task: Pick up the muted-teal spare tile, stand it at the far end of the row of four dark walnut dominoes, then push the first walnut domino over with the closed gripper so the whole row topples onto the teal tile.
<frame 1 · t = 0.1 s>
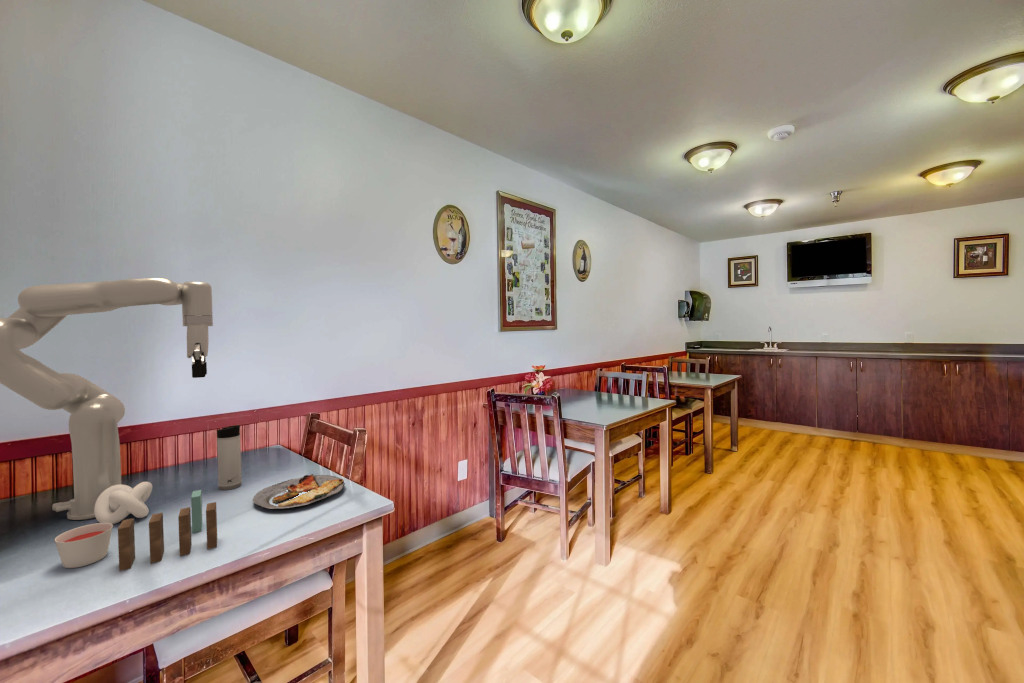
hand: (199, 376, 130), 37 cm above the table, tool pointing down, fingers open, 9 cm apart
white knot: (128, 519, 113), on the table
candle: (85, 561, 92), on the table
domino 4: (212, 543, 99), on the table
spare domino: (197, 528, 107), on the table
travel mug: (230, 487, 135), on the table
food plate: (301, 497, 127), on the table
domino 3: (185, 550, 96), on the table
domino 2: (157, 557, 93), on the table
domino 1: (127, 564, 90), on the table
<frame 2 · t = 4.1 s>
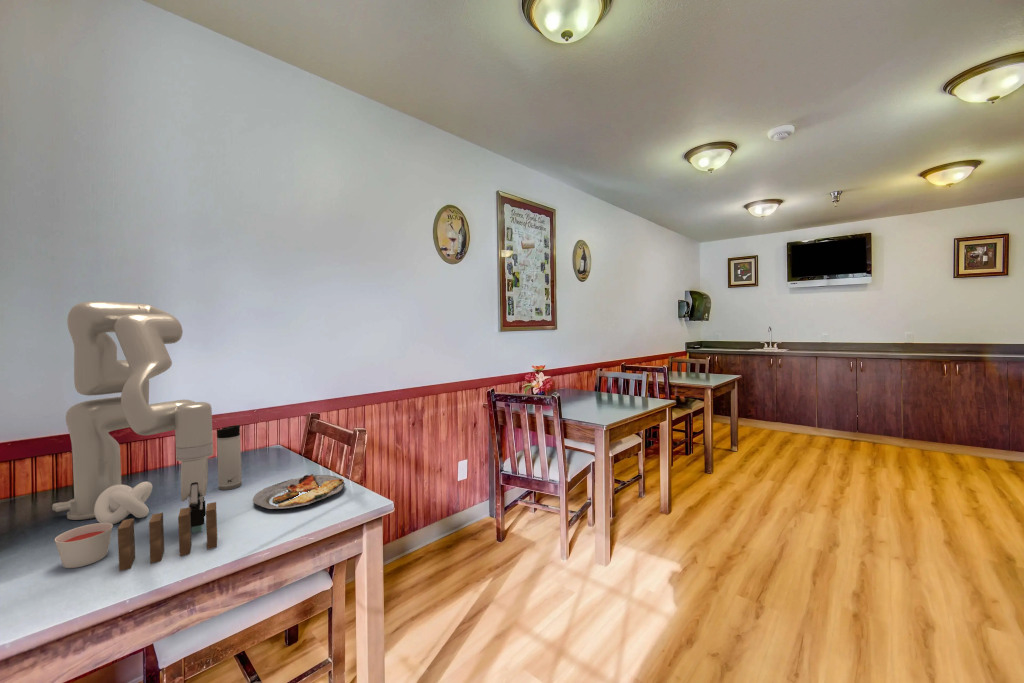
hand: (197, 520, 107), 2 cm above the table, tool pointing down, fingers closed on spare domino, 4 cm apart
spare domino: (197, 528, 107), on the table, touching gripper
everything else where it was.
when the fingers open (3 cm above the table, at t = 8.4 s): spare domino stays where it is, on the table.
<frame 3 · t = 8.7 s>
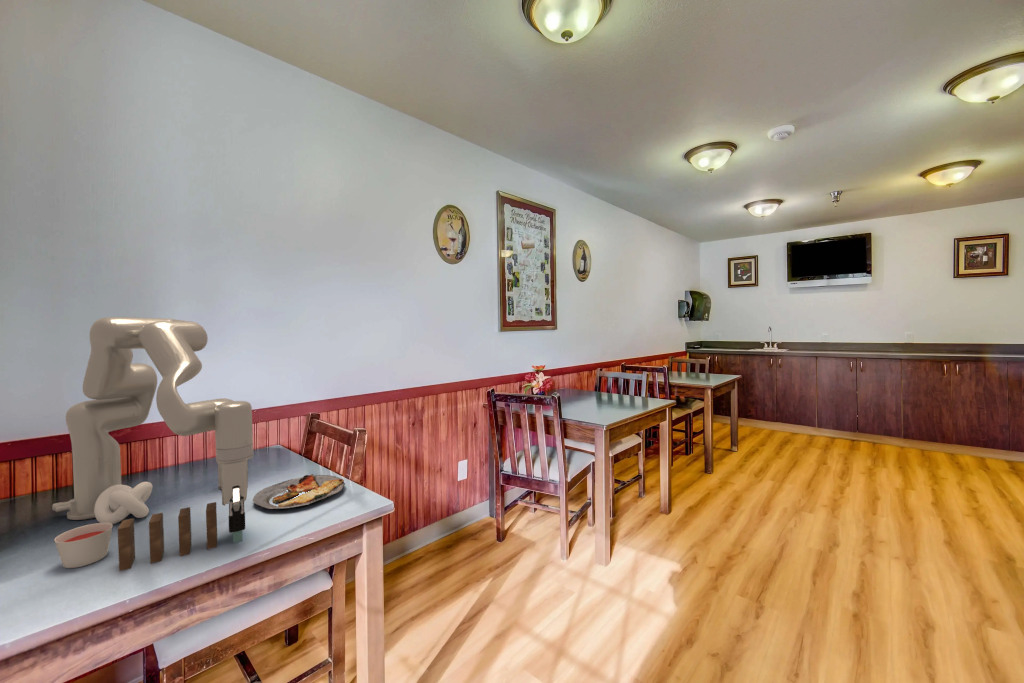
hand: (237, 523, 101), 3 cm above the table, tool pointing down, fingers open, 8 cm apart
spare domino: (237, 537, 102), on the table
everything else where it was.
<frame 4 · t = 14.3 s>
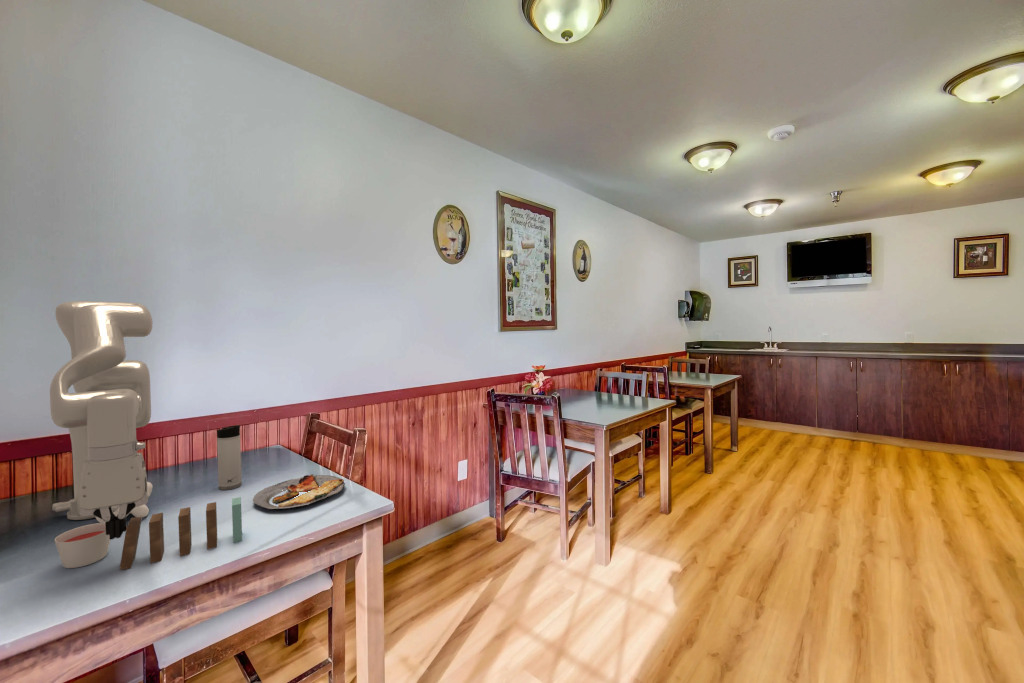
hand: (116, 536, 89), 7 cm above the table, tool pointing down, fingers closed
domino 1: (127, 563, 90), on the table, tilted 9°, touching gripper
everything else where it was.
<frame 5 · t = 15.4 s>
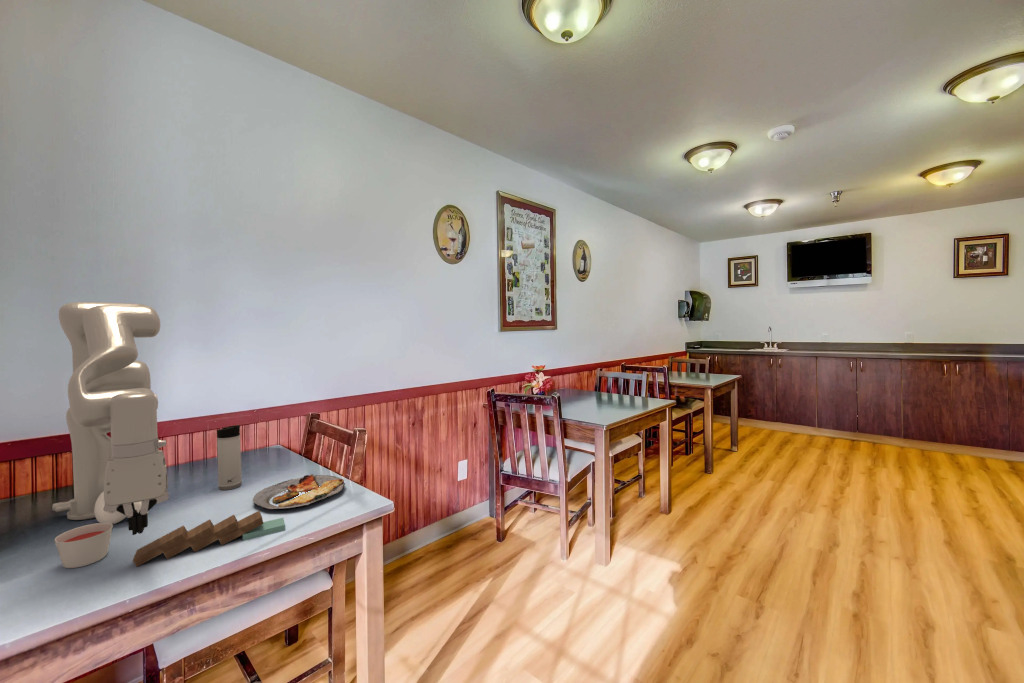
hand: (138, 531, 91), 7 cm above the table, tool pointing down, fingers closed
domino 4: (220, 537, 100), point 1 cm above the table, tilted 72°, touching domino 3
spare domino: (242, 534, 102), on the table, tilted 90°
domino 3: (193, 544, 97), point 1 cm above the table, tilted 69°, touching domino 2, domino 4
domino 2: (166, 551, 94), point 1 cm above the table, tilted 68°, touching domino 1, domino 3
domino 1: (136, 558, 91), point 1 cm above the table, tilted 68°, touching domino 2
everything else where it was.
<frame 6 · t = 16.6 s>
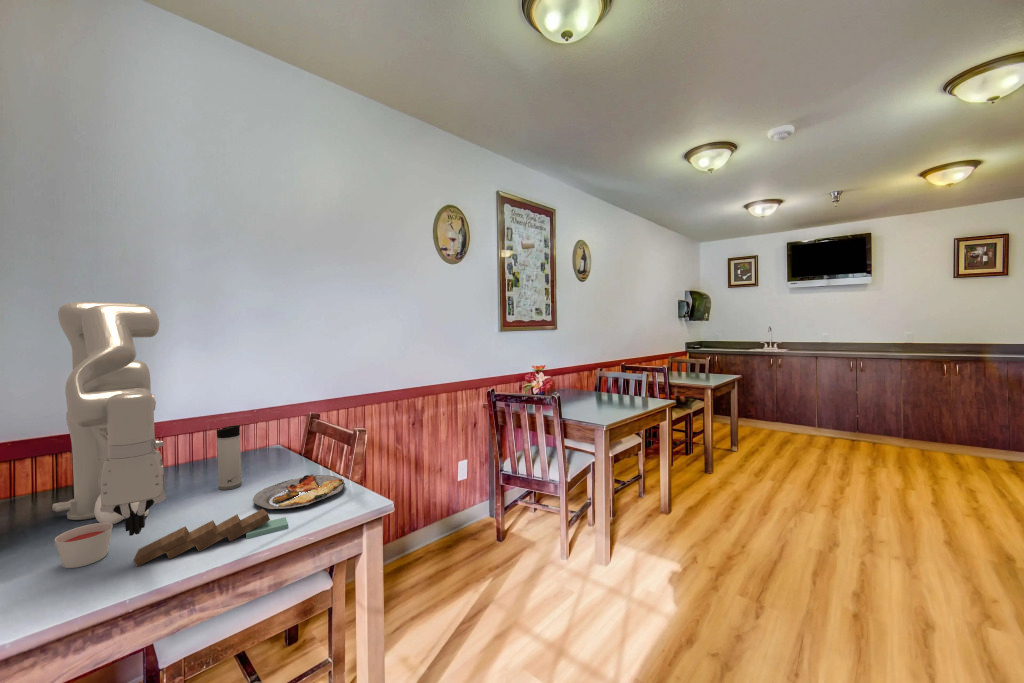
hand: (135, 532, 91), 7 cm above the table, tool pointing down, fingers closed
domino 4: (226, 535, 101), point 1 cm above the table, tilted 75°, touching domino 3, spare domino
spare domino: (245, 534, 103), on the table, tilted 90°, touching domino 4
domino 2: (169, 551, 94), point 1 cm above the table, tilted 70°, touching domino 1, domino 3
domino 1: (137, 557, 91), point 1 cm above the table, tilted 70°, touching domino 2
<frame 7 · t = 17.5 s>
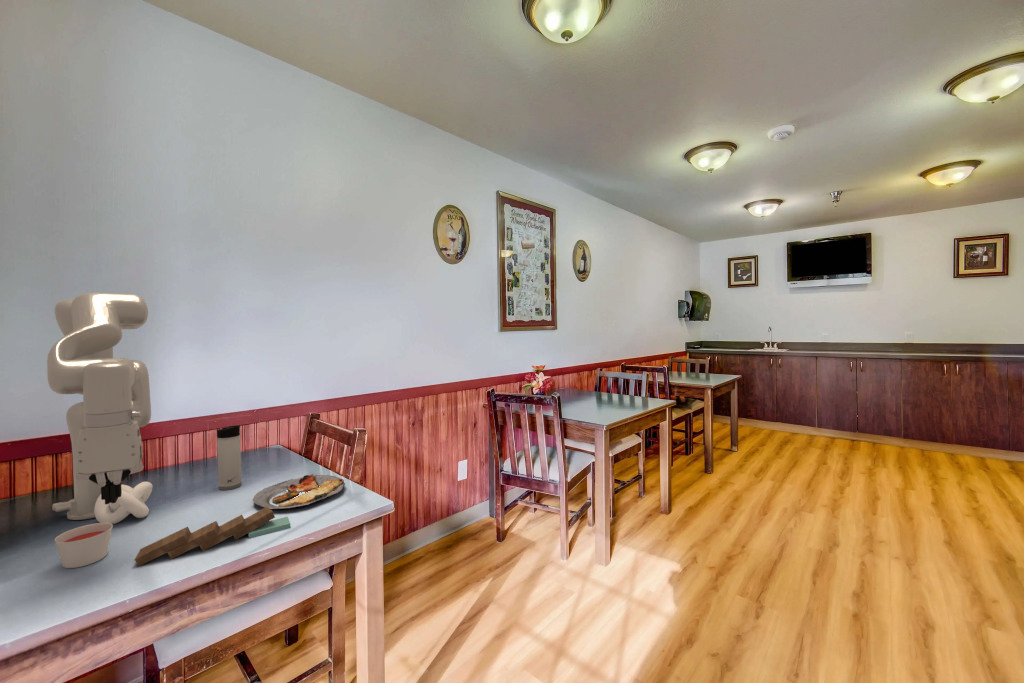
hand: (111, 501, 91), 13 cm above the table, tool pointing down, fingers closed
domino 4: (232, 533, 101), point 1 cm above the table, tilted 73°
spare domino: (248, 533, 103), on the table, tilted 90°
domino 3: (201, 543, 97), point 1 cm above the table, tilted 71°, touching domino 2
domino 1: (139, 557, 91), point 1 cm above the table, tilted 71°, touching domino 2
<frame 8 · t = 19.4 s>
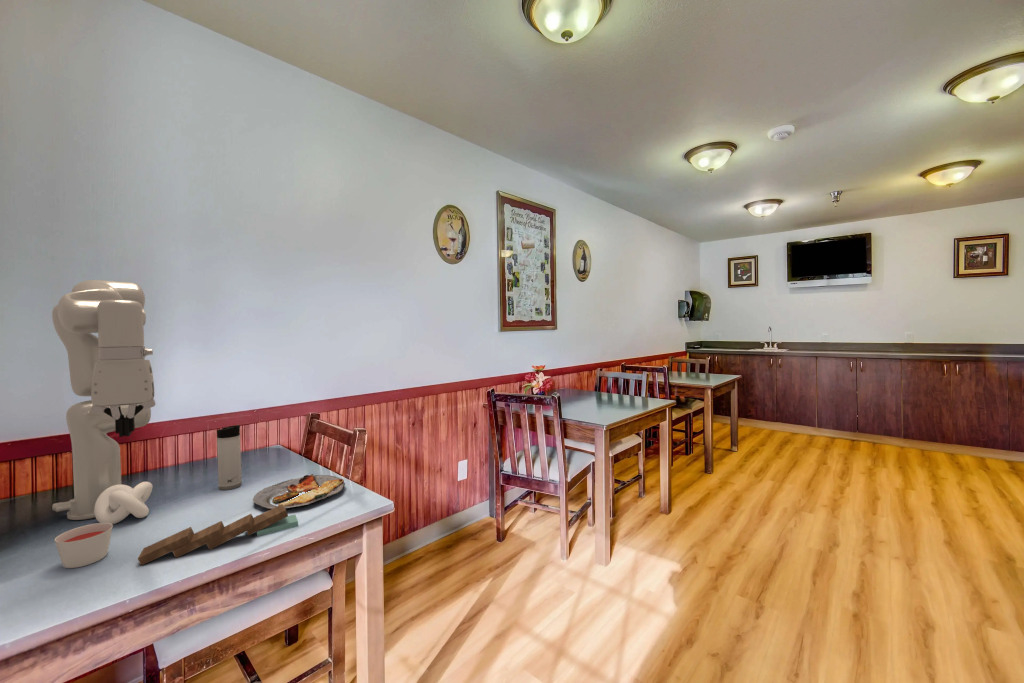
hand: (125, 435, 94), 27 cm above the table, tool pointing down, fingers closed
domino 4: (245, 528, 103), point 2 cm above the table, tilted 76°, touching domino 3, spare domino
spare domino: (256, 530, 104), on the table, tilted 90°, touching domino 4
domino 3: (210, 541, 98), point 1 cm above the table, tilted 70°, touching domino 2, domino 4
at the end: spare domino tilted 90°; domino 4 tilted 80°; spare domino inside the target area (1.6 cm from its centre), on the table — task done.
